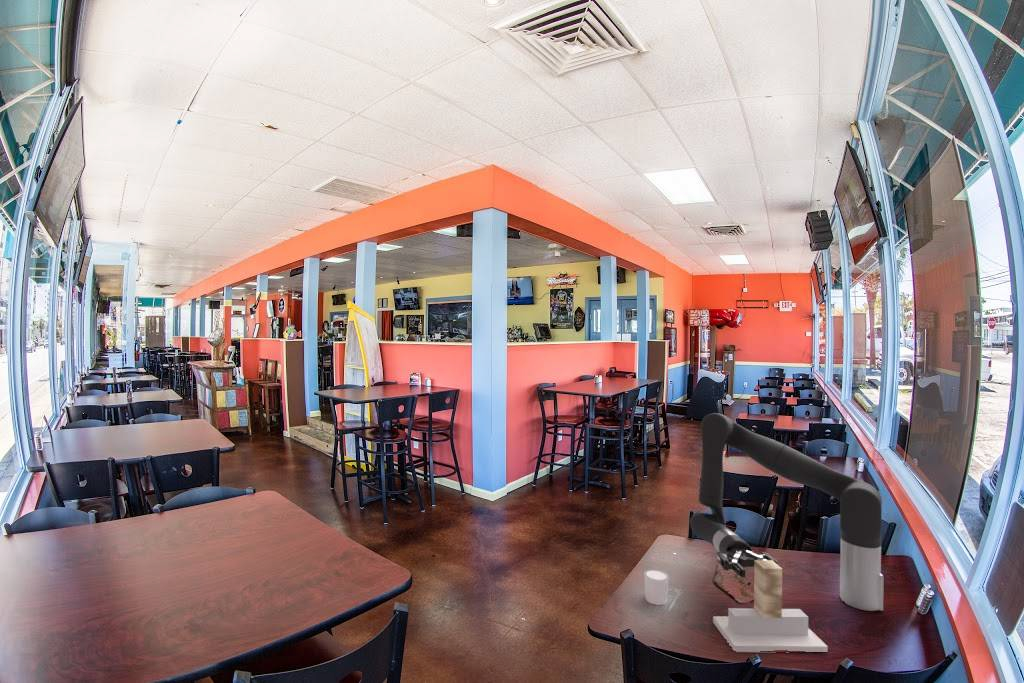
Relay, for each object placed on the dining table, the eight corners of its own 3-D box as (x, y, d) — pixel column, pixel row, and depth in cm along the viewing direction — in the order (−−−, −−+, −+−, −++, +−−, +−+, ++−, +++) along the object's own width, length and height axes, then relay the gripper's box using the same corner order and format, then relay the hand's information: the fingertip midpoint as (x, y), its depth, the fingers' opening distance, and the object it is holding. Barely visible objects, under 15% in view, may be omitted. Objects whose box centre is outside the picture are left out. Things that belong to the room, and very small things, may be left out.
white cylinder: (670, 596, 138) (670, 572, 138) (667, 608, 132) (667, 583, 132) (645, 590, 141) (645, 567, 141) (641, 602, 135) (641, 577, 135)
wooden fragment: (762, 607, 133) (762, 604, 133) (720, 602, 136) (720, 598, 136) (741, 565, 158) (741, 562, 158) (705, 561, 161) (705, 558, 161)
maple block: (771, 607, 122) (772, 560, 122) (781, 617, 117) (782, 568, 117) (753, 607, 122) (754, 560, 122) (763, 617, 117) (763, 568, 117)
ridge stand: (797, 622, 126) (797, 599, 126) (827, 652, 114) (828, 627, 114) (713, 622, 126) (713, 599, 126) (734, 652, 114) (734, 626, 114)
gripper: (707, 533, 140) (733, 559, 123) (756, 534, 140) (788, 560, 123) (706, 559, 140) (732, 588, 123) (755, 560, 140) (788, 589, 123)
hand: (760, 574), depth 123 cm, fingers open, 8 cm apart
